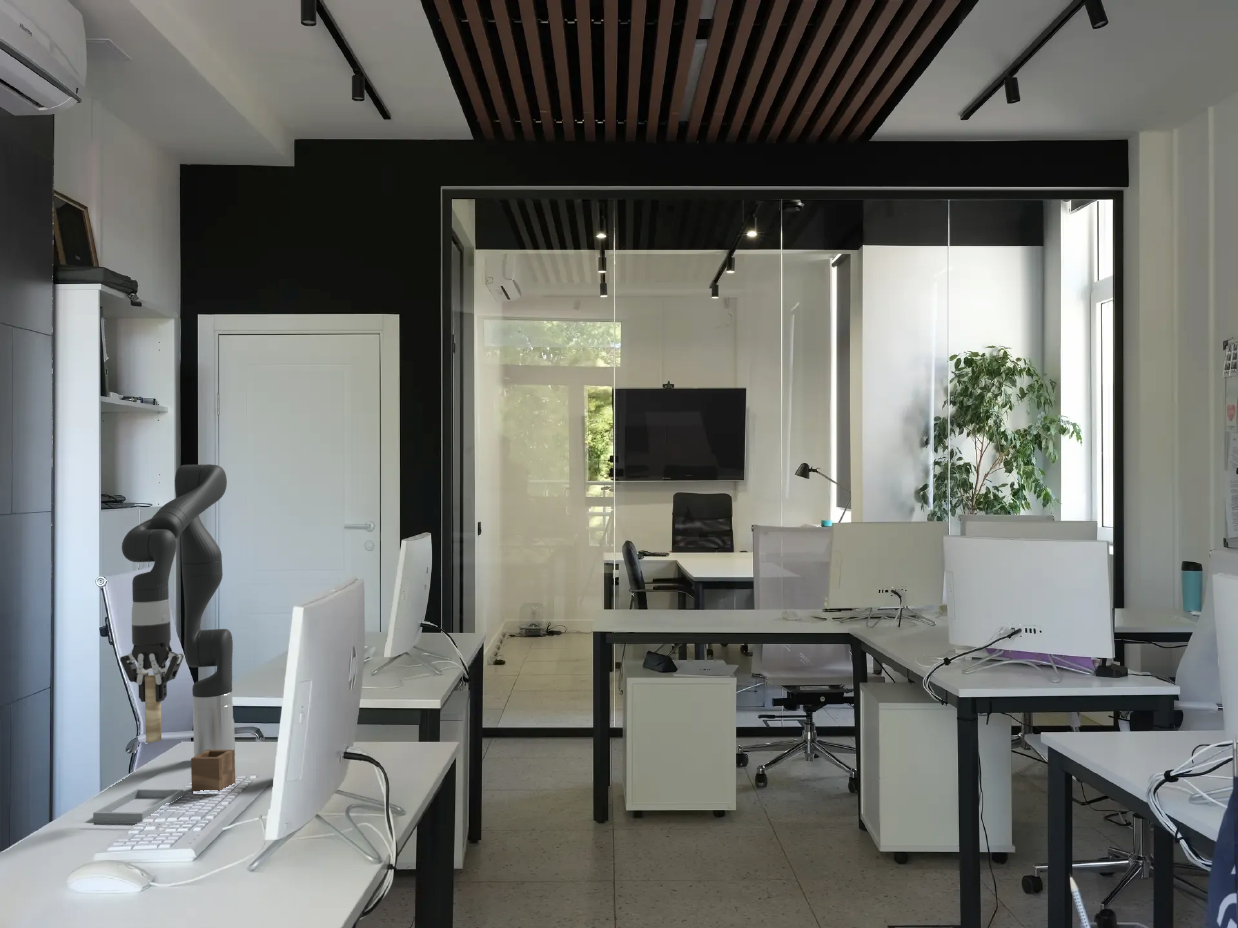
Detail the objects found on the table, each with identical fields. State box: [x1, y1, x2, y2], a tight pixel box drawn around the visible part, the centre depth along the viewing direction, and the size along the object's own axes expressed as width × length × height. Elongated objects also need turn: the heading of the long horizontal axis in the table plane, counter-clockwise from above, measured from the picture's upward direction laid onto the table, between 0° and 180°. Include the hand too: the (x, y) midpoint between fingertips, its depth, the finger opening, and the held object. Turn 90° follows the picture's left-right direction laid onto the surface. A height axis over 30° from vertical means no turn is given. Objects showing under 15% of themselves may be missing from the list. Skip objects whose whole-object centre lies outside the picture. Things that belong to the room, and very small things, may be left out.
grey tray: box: [92, 788, 184, 827], centre depth 199 cm, size 14×11×2 cm
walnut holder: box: [190, 749, 236, 792], centre depth 209 cm, size 7×7×9 cm
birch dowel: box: [144, 673, 163, 743], centre depth 201 cm, size 3×3×14 cm
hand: (152, 700), depth 201 cm, fingers closed on birch dowel, 3 cm apart
